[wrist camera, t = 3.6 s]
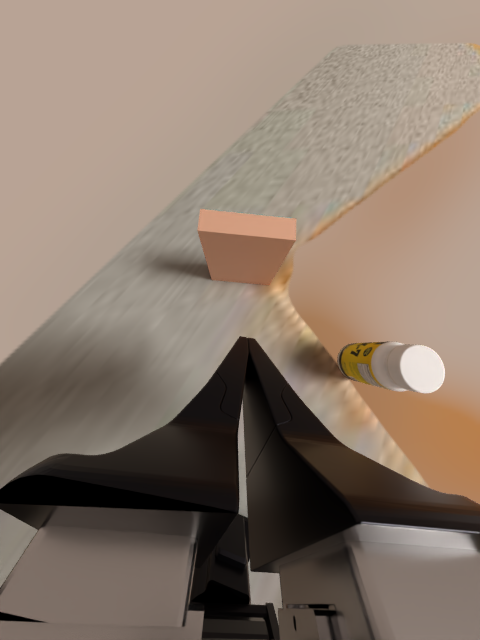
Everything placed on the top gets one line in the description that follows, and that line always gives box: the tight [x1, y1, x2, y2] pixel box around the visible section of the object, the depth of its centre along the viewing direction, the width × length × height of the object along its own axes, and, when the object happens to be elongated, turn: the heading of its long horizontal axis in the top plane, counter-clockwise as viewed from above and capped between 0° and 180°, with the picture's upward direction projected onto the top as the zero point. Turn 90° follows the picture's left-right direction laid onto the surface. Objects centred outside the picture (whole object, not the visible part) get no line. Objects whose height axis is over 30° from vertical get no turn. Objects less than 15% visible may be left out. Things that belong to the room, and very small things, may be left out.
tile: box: [198, 209, 296, 285], centre depth 19 cm, size 2×8×10 cm, turn 86°
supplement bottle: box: [337, 342, 445, 393], centre depth 19 cm, size 5×5×8 cm
